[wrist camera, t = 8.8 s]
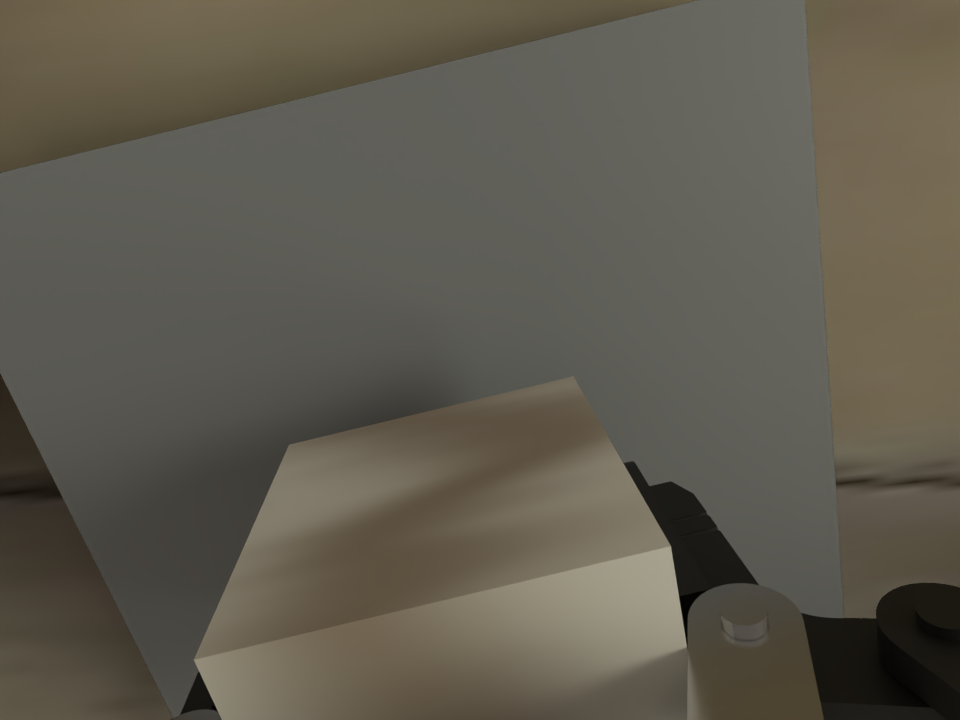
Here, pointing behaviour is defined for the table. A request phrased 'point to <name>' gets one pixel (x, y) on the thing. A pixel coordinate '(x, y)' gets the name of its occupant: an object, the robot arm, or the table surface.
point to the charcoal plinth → (436, 294)
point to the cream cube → (453, 576)
